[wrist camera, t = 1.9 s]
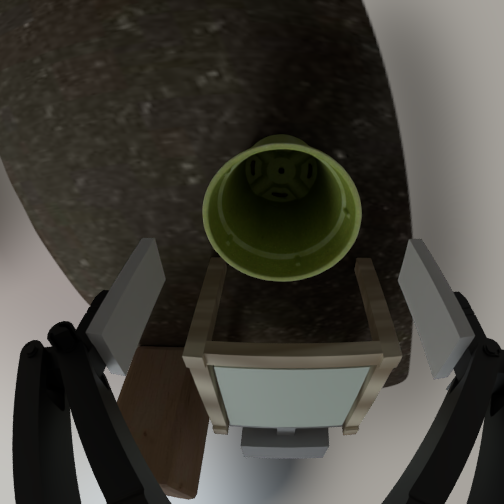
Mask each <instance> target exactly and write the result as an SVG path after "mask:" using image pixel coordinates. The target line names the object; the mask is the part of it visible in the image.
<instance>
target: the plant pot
mask: <svg viewBox="0 0 504 504" xmlns="http://www.w3.org/2000/svg"><path fill="white" fill-rule="evenodd" d="M253 160H254V161H255V175H254V176H253V175H252V174H251V167H250V165H251V162H252V161H253ZM308 164H311V165H312V175H311V177H310V178H307V175H308V169H309V167H308ZM279 168H284V173H282V174H281V173H279ZM273 192H276V193H287V194H288V195H287V196H286V197H276V196H273V195H272V193H273ZM361 218H362V208H361V201H360V197H359V194H358V191H357V189H356V186H355V184H354V182H353V180H352V179H351V177H350V176H349V174H348V173H347V172H346V171H345V169H344V168H343V167H342V166H341V165H340V164H339V163H338V162H337V161H335V160H334V159H333V158H332V157H330V156H329V155H327V154H325V153H324V152H322V151H320V150H318V149H315V148H313V147H310V146H308V145H307V144H306V143H305V142H304V141H302V140H300V139H299V138H296V137H294V136H290V135H284V134H278V135H271V136H268V137H265V138H263V139H262V140H260V141H259V142H257V143H256V144H255V145H254V146H253V147H252V148H250V149H247V150H245V151H243V152H241V153H239V154H238V155H236V156H234V157H233V158H232V159H230V160H229V161H228V162H227V163H225V164H224V165H223V166H222V167H221V168H220V169H219V171H218V172H217V173H216V174H215V176H214V177H213V179H212V180H211V182H210V184H209V186H208V188H207V191H206V193H205V197H204V201H203V223H204V228H205V231H206V234H207V237H208V239H209V241H210V243H211V245H212V246H213V248H214V249H215V251H216V252H217V253H218V254H219V255H220V256H221V257H222V258H223V259H224V260H225V261H226V262H227V263H228V264H229V265H231V266H232V267H234V268H235V269H237V270H239V271H240V272H242V273H245V274H247V275H249V276H252V277H255V278H259V279H263V280H269V281H296V280H302V279H305V278H309V277H312V276H315V275H317V274H320V273H322V272H323V271H325V270H327V269H329V268H331V267H332V266H334V265H335V264H336V263H337V262H339V261H340V260H341V259H342V258H343V257H344V256H345V255H346V254H347V252H348V251H349V250H350V248H351V247H352V245H353V244H354V242H355V240H356V238H357V236H358V232H359V229H360V225H361Z"/></svg>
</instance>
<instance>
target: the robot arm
mask: <svg viewBox="0 0 504 504" xmlns="http://www.w3.org/2000/svg"><path fill="white" fill-rule="evenodd" d="M165 280H166V278H165V275H164V271H163V267H162V263H161V260H160V256H159V252H158V248H157V244H156V240H155V238H142V239H141V241H140V242H139V244H138V245H137V247H136V248H135V250H134V251H133V253H132V254H131V256H130V258H129V259H128V261H127V262H126V264H125V266H124V267H123V269H122V270H121V272H120V274H119V275H118V277H117V279H116V280H115V282H114V283H113V285H112V287H111V288H110V290H103V291H102V292H100V293H99V294H98V295H97V296H96V297H95V298H94V300H93V302H92V303H91V307H89V308H88V310H87V313H86V314H85V315H84V317H83V319H82V320H81V322H80V324H79V326H78V327H77V329H75V328H74V326H73V325H72V323H70V322H68V321H63V322H59V323H57V324H55V325H54V326H53V327H52V328H51V329H50V330H49V333H48V336H47V339H48V341H49V342H50V344H51V345H52V347H44V346H43V345H42V343H41V342H40V341H38V340H33V341H30V342H28V343H27V344H26V345H25V346H24V347H23V348H22V351H21V353H20V359H19V366H18V373H17V381H16V390H15V400H14V414H13V442H12V445H13V447H12V451H13V478H14V491H15V500H16V504H81V499H80V494H79V489H78V483H77V476H76V469H75V462H74V453H73V444H72V433H71V419H70V409H71V412H72V416H73V419H74V422H75V425H76V428H77V431H78V434H79V437H80V440H81V442H82V445H83V448H84V451H85V453H86V456H87V458H88V461H89V463H90V466H91V468H92V471H93V473H94V475H95V478H96V480H97V482H98V484H99V487H100V489H101V491H102V493H103V495H104V497H105V499H106V502H107V504H171V502H170V501H169V500H168V498H167V497H166V495H165V493H164V492H163V490H162V489H161V487H160V485H159V484H158V482H157V480H156V479H155V477H154V475H153V474H152V472H151V470H150V468H149V467H148V465H147V463H146V461H145V459H144V458H143V456H142V454H141V452H140V450H139V448H138V446H137V444H136V442H135V440H134V438H133V436H132V434H131V432H130V430H129V428H128V426H127V424H126V422H125V420H124V418H123V416H122V413H121V411H120V409H119V407H118V405H117V402H116V400H115V398H114V395H113V393H112V391H111V388H110V386H109V383H108V381H107V378H106V376H105V374H104V373H103V372H104V369H105V367H106V366H107V368H108V369H109V371H110V372H111V373H113V374H117V375H123V376H126V374H127V371H128V369H129V366H130V364H131V361H132V359H133V356H134V353H135V351H136V348H137V346H138V343H139V341H140V338H141V336H142V334H143V331H144V329H145V326H146V324H147V321H148V319H149V317H150V314H151V312H152V310H153V307H154V305H155V303H156V300H157V298H158V296H159V293H160V291H161V289H162V287H163V284H164V282H165ZM398 282H399V285H400V287H401V290H402V292H403V294H404V297H405V299H406V302H407V304H408V307H409V310H410V312H411V315H412V317H413V320H414V323H415V325H416V328H417V331H418V334H419V336H420V339H421V342H422V345H423V348H424V351H425V354H426V357H427V360H428V363H429V366H430V369H431V372H432V376H433V379H439V378H445V377H448V376H449V375H450V373H451V372H452V370H453V369H454V371H455V374H456V376H455V378H454V379H453V380H452V382H451V383H450V384H449V386H448V387H447V388H446V390H448V389H449V390H448V392H447V395H446V397H445V399H444V401H443V403H442V405H441V407H440V409H439V411H438V414H437V416H436V418H435V420H434V421H433V423H432V425H431V427H430V429H429V431H428V433H427V435H426V436H425V438H424V440H423V442H422V443H421V445H420V447H419V449H418V450H417V452H416V454H415V455H414V457H413V459H412V460H411V462H410V464H409V465H408V467H407V468H406V470H405V471H404V473H403V474H402V476H401V477H400V479H399V480H398V482H397V483H396V485H395V486H394V487H393V489H392V490H391V492H390V493H389V494H388V496H387V497H386V498H385V500H384V501H383V503H382V504H445V502H446V500H447V499H448V497H449V495H450V493H451V491H452V490H453V488H454V486H455V484H456V482H457V480H458V478H459V476H460V474H461V472H462V470H463V468H464V466H465V464H466V461H467V459H468V457H469V455H470V453H471V450H472V448H473V446H474V443H475V440H476V438H477V436H478V433H479V431H480V428H481V425H482V423H483V420H484V425H483V432H482V439H481V445H480V451H479V456H478V461H477V466H476V471H475V475H474V479H473V483H472V487H471V491H470V494H469V498H468V501H467V504H504V350H501V348H500V346H499V345H498V343H497V342H495V341H494V340H492V339H489V338H487V337H486V335H485V334H484V331H483V329H482V328H481V326H480V323H479V322H478V319H477V317H476V316H475V315H474V312H473V310H472V309H471V306H470V305H469V303H468V301H467V299H466V298H465V297H464V296H463V295H462V294H461V293H460V292H453V291H452V289H451V287H450V286H449V284H448V282H447V280H446V279H445V277H444V275H443V273H442V272H441V270H440V268H439V267H438V265H437V263H436V262H435V260H434V258H433V257H432V255H431V253H430V252H429V250H428V249H427V247H426V245H425V244H424V242H423V241H422V239H409V241H408V245H407V249H406V253H405V257H404V260H403V264H402V267H401V271H400V274H399V278H398Z"/></svg>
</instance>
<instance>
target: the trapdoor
mask: <svg viewBox="0 0 504 504" xmlns="http://www.w3.org/2000/svg"><path fill="white" fill-rule="evenodd" d="M214 369H215V373H216V376H217V380H218V384H219V387H220V391H221V394H222V398H223V401H224V405H225V408H226V411H227V415H228V418H229V426H237V427H243V430H242V439H241V448H242V452H243V455H244V457H254V458H322V457H323V456H324V454H325V452H326V450H327V449H328V447H329V436H328V427H341V426H343V422H344V420H345V419H346V417H347V415H348V413H349V411H350V409H351V407H352V405H353V403H354V401H355V399H356V397H357V395H358V393H359V391H360V388H361V386H362V384H363V382H364V380H365V378H366V375H367V373H368V371H369V369H370V365H368V366H351V367H328V368H257V367H233V366H216V365H214Z"/></svg>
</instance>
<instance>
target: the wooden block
mask: <svg viewBox="0 0 504 504" xmlns="http://www.w3.org/2000/svg"><path fill="white" fill-rule="evenodd" d="M184 348H185V347H154V346H140V347H138V348H137V349H136V351H135V354H134V357H133V359H132V362H131V365H130V367H129V370H128V373H127V375H126V378H125V381H124V384H123V386H122V389H121V392H120V395H119V398H118V400H117V405H118V407H119V409H120V411H121V413H122V416H123V418H124V420H125V422H126V424H127V426H128V428H129V430H130V432H131V434H132V436H133V438H134V440H135V442H136V444H137V446H138V448H139V450H140V452H141V454H142V456H143V458H144V459H145V461H146V463H147V465H148V467H149V468H150V470H151V472H152V474H153V475H154V477H155V479H156V480H157V482H158V484H159V485H160V487H161V489H162V490H163V492H164V493H165V495H167V496H173V497H177V498H184V499H193V498H195V496H196V495H197V490H198V484H199V478H200V472H201V465H202V460H203V454H204V448H205V442H206V435H207V429H208V424H209V415H208V413H207V411H206V408H205V406H204V404H203V401H202V399H201V396H200V394H199V391H198V389H197V386H196V384H195V381H194V379H193V376H192V374H191V371H190V368H188V367H186V365H185V362H184V360H183V357H182V355H183V351H184Z"/></svg>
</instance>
